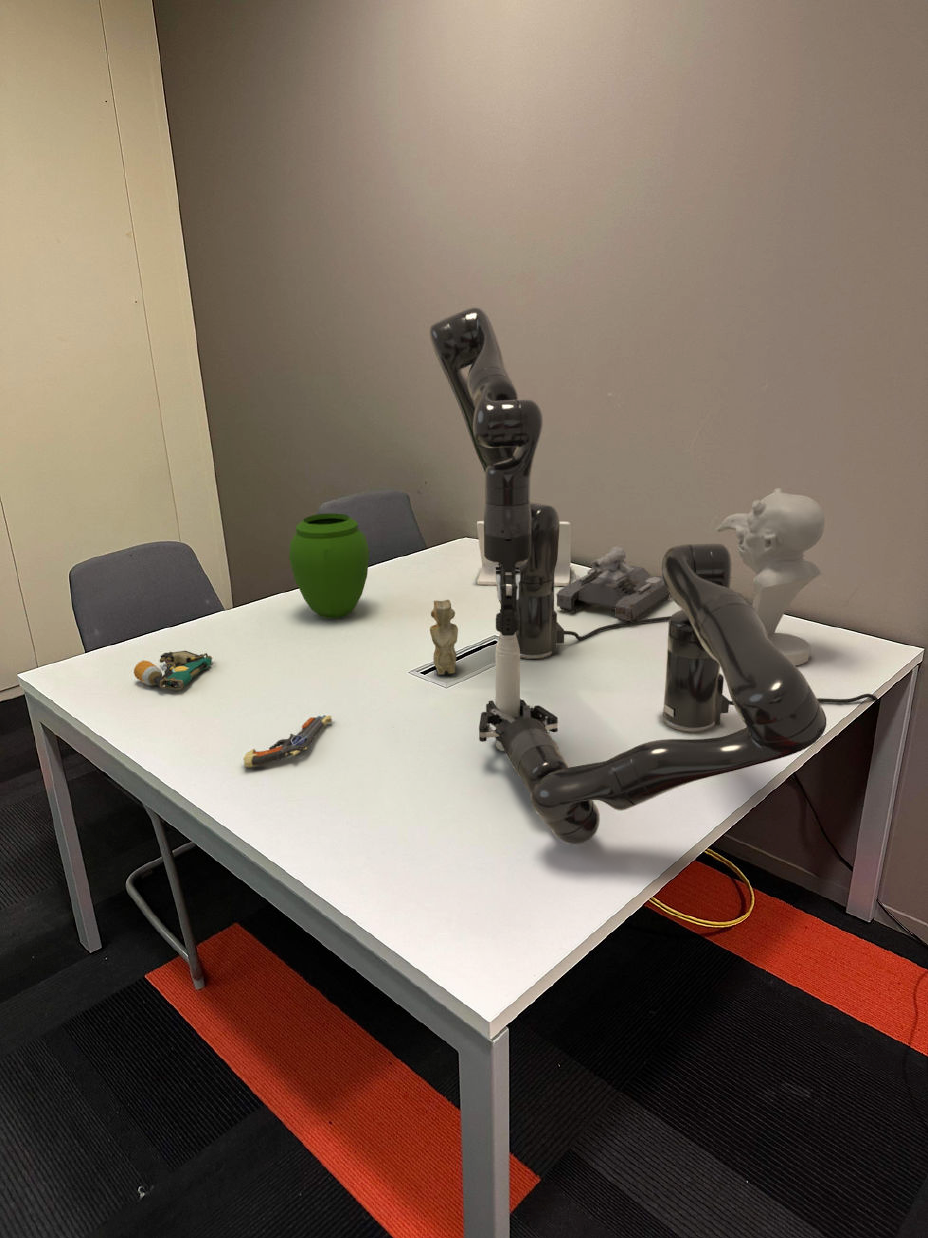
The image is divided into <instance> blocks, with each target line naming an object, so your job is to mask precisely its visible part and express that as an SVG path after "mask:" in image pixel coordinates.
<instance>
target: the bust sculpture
mask: <svg viewBox="0 0 928 1238" xmlns="http://www.w3.org/2000/svg"><path fill="white" fill-rule="evenodd" d="M825 522H826V521H825V513H824V511H823V509H822V508H821V506H820V505H819V504H818V502H816V500H814V499H812V498H811V497H809V496H806V495H802V494H791V493H786V492H784V491H783V489H782V488H780V487H777V488H775V489H774V490H773V492H772V493H770V494H768V495H767V496H765V497H763V498H762V499H761V500H759V499H757V500H754V501H753V502H752V504H751V510H750V512H749V513H743V512H739V513H734V514H730V515H729V516H727V517H726V518H725V519H724V520H723V521H722V522H721V524H719V525H718V526H717V527H716V529H715V530H716V532H718V533H721V532H725V531H729V530H733V531H735V535H736V538H737V539H738V540H739V541H738V542H737V544H736V547H737V550H738V553H739V557H740V558H741V559H742V562H743V563H744V565H746V566H747V567H748V568H750V570H752V572H753V573H755V575H756V576H755V577H754V578H753V580H752V586H753V590H754V592H755V594H756V595H755V597H754V599H753V601H752V603H751V605H752V606H753V608H754V609H755V610H756V612H757V613H758V615H759V616H760V618H761V619H762V621H763V623H764V625H765V627H766V630H767V634H768V639H769V640H770V641H771V642H772V644H773V645H774V646H775V647H776V648H777V649H778V650H779V651H780V652H781V653H782V654H783V655H784V656H785V657H787V658H788V659H789V660H790V661H791V662H792V663H793V664H794V665H795V666H796V667H797V666H800V665H803V664H805V663H806V662H808V661H809V659H810V650H811V645H810V643H809V642H808V641H807V640H806V639H803V638H802V637H800V636H796V635H793V634H789V633H785V632H784V633H783V632H776V630H777V628H778V626H779V623H780V622H781V620H782V618H783V616H784V615H785V613H786V611H788V608H789V607H790V605H791V604H792V603H793V601H794V600H795V598H796V597H797V596H798V594H799V593H800V592H801V591H802V589H804V588H805V587H806V586H807V585H808V584H809V583H811V582H812V581H814V580H815V579H816V578H818V577H820V576H822V575H823V572H822V570H821V569H820V568H819V567H818V565H816V563H814V562H812V561H809V560H805V559H804V557H805V554H804V553H805V552H806V551H808V550H810V549H812V548H813V547H815V546H816V545H817V544H818V543H819V542H820V540H821V539H822V536H823V534H824V531H825Z"/></svg>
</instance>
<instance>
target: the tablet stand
mask: <svg viewBox="0 0 928 1238" xmlns="http://www.w3.org/2000/svg"><path fill="white" fill-rule="evenodd" d="M559 526H560V528H559V544H558V559H557V564H556V567H555V572H554V587H556V586H557V587H566V586H567V585H569V584H570V580H571V579H570V578H571V565H572V564H571V560H572V558H571V522H569V521H559ZM476 531H477V537H478V544H479V551H480V557H481V558H480V559H481V570H480V573H479V575H478V577H477V580H476V581H477V582H476V584H478V585H484V586H485V585H486V586H487V585H489V586H490V585H491V586H497V582H496V577H495V567H499V566H498V562H491V561H489V560H487V559H486V558H485V556H484V520H477V522H476Z"/></svg>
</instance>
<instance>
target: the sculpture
mask: <svg viewBox="0 0 928 1238" xmlns="http://www.w3.org/2000/svg"><path fill="white" fill-rule="evenodd" d="M455 615H456V611H455V609H453V608H452V602H451V601H450V599H445V600H433V610H431V612H430V617H431V618H432V619H433V620H434V621H435V622H436V623H435V624H433V625H431V626H429V633H430V636H431V640H432V641H431V642H432V643H433V645H434V648H435V649H434V652H433V656H432V657H433V659H432V660H433V665H434V667H435V668H436V671H437V674H438V675H445V674H446V672H447V673H448V674H455V673H456V666H457V665H456V663H457V652H456V649H455V644H456V643H457V642H458V637H459V635H458V634H459V627H458V626H457V624H455V623H453V622H451V621H452V620H453V619H454V618H455Z"/></svg>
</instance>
